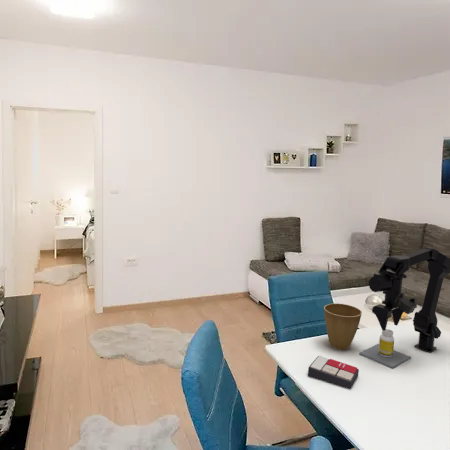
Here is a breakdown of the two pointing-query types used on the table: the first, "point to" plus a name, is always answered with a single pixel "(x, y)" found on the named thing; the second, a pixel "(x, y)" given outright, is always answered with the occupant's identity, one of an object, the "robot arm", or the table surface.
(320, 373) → the calculator
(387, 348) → the supplement bottle
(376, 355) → the slate mat
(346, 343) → the plant pot
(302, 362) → the table surface
